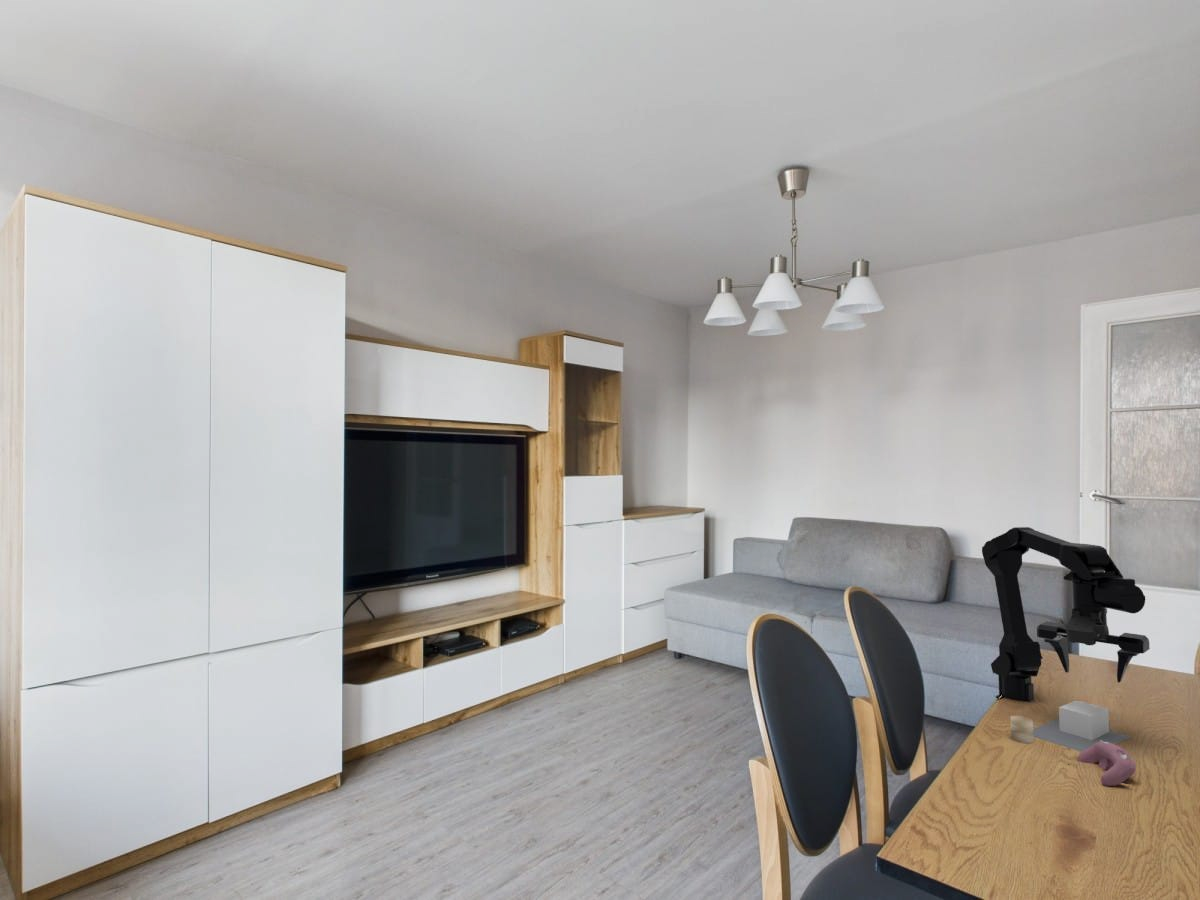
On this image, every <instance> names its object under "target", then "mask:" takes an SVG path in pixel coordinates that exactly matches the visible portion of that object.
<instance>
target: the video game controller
mask: <svg viewBox="0 0 1200 900" xmlns="http://www.w3.org/2000/svg"><path fill="white" fill-rule="evenodd" d="M1076 761H1077V762H1081V763H1087V764H1088V763H1089V764H1096V763H1098V767H1100V768H1101V769H1103V770H1104V771H1105V772H1103V774H1101V778H1100V782H1101V783H1102V784H1103V785H1104V786H1106V787H1112V786H1113V787H1114V786H1117V785H1120V784H1122V783H1123V782H1125V781H1127V779H1128V778H1130V777H1132V776H1133V775H1134V774H1135V772H1136V762H1135V761H1134V759H1132V758H1131V756H1130V754H1129V753H1128V752H1127V751H1126V750H1125V749H1124V748H1123V747H1121V746H1119V745H1118V744H1116V745H1115V744H1113V743H1109V742H1103V741H1102V740H1100V742H1096V743H1095V744H1093V745H1092V746H1091V747H1090V748H1088V749H1086V750H1085V751H1083V752H1080V753H1079V754H1078V756H1077V758H1076Z"/></svg>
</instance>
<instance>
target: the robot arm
mask: <svg viewBox="0 0 1200 900" xmlns="http://www.w3.org/2000/svg"><path fill="white" fill-rule="evenodd" d="M981 548H982V549H981V553H982V558H983V561H984V564H985V566H986V568H987V569H988V570H989V571H990V573H991V574H992V575H993V577H994V582H995V587H996V588H995V589H996V594H997V599H998V605H999V611H1000V617H1001V623H1002V630H1003V635H1002V638H1001V641H1000V643H999V644H998V654H999V655H998V656H997V657H996V658H995V659H994V660H993V661H992V662H991V663H990V667H991V670H992V673H993V674H995V675H997V676H998V694H997V695H995V698H996V699H998V698H999V697H1000V696H1001V695H1002V697H1001V698H1000V699H999V700H1003V699H1009V700H1013V701H1019V702H1027V703H1030V702H1032V701H1033V702H1034V701H1035V690H1034V689H1035V688H1034V686H1035V685H1034V683H1032V677H1038V675H1039V670H1040V667H1042V660H1043V659H1044V658H1043V656H1042V652H1041V644H1040V643H1039V641H1034V639H1032V638H1031V636H1030V635H1029V634H1028V629H1027V628H1028V627H1027V622H1026V616H1025V613H1024V606H1023V605H1024V604H1023V602H1022V601H1023V599H1022V595H1021V594H1022V593H1021V589H1020V582H1019V577H1018V574H1019V572H1020V569H1021V568H1022V566H1023V555H1025V554H1026V553H1027V552H1029V551H1030V549H1031V550H1033V551H1035V552H1038V553H1041V554H1044V555H1046V556H1049V557H1052V558H1055V559H1056V560H1058V562H1059V564H1060V565H1061V566H1062V567H1064V568H1065V569H1067V570H1069V572H1068V573H1067V574H1066V575H1064V576H1063V580H1064V581H1070V582H1071V587H1072V590H1071V591H1072V608H1071V616H1070V619H1069V620H1068V621H1067V624H1066V625H1065V624H1064V623H1059V622H1054V621H1053V622H1052V621H1045V622H1042V623H1040V624H1039V625H1038V626H1037V628H1036V637H1037V638H1040V639H1043V640H1044V642H1045V643H1047V644H1048V643H1049V644H1050V645H1051V646H1052V647H1053V649H1054V651H1055V652H1056V653H1057V656H1058V657H1059V658H1058V659H1059V661H1060V663H1061V665H1062V667H1063V669H1064V672H1065V673H1070V656H1069V646H1068V645H1069V643H1072V644H1076V643H1078V644H1082V645H1083V644H1084V645H1086V646H1094V645H1096V643H1104V644H1109V645H1116V646H1118V647H1119V648H1120V649H1119V650H1117V652H1116V653H1117V670H1116V680H1117V681H1116V682H1117V683H1121V682H1122V681H1123V678H1124V675H1125V673H1126V670H1127V669H1128V666H1129V663H1130V662H1131V660H1132V658H1133V657H1137V656H1138V655H1140V654H1145V653H1146V652H1147V651H1149V650H1150V649H1151V648H1150V640H1149V638H1148V637H1147V636H1146V635H1145V634H1137V633H1129V632H1123V633H1122V634H1120V635H1114V634H1110V632H1109V631H1110V630H1109V627H1108V623H1107V622H1108V621H1107V614H1108V609H1110V610H1115V611H1120V612H1125V613H1129V614H1137V613H1139V612H1141V611H1142V610H1143V608H1144V607H1145V604H1146V596H1145V595H1144V593H1143V591H1142V589H1141V588H1140V587H1139V586H1138V585H1136V580H1135V579H1134V578H1128V577H1127V578H1124V576H1123V575H1122V573H1121V571H1120V570H1119V568H1118V567H1117V565H1116V564H1115V562H1114V561H1113V559H1112V557H1110V555H1109V554H1108V551H1107V548H1105V547H1104V546H1102V545H1096V544H1089V543H1079V542H1078V543H1077V542H1076V543H1075V542H1070V541H1067V540H1064V539H1061V538H1058V537H1056V536H1053V535H1050V534H1047V533H1044V532H1041V531H1039V530H1035V529H1034V528H1032V527H1030V526H1029V527H1028V526H1027V527H1026V526H1023V527H1022V526H1021V527H1020V526H1019V527H1018V526H1017V527H1012V528H1010V529H1008V531H1006V532H1004V533H1002V534H1000V535H998V536H995V537H994V538H992V539H990V540H988V541H986V542H985V543H984V545H982V547H981ZM1068 642H1069V643H1068Z"/></svg>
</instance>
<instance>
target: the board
mask: <svg viewBox="0 0 1200 900" xmlns="http://www.w3.org/2000/svg"><path fill="white" fill-rule="evenodd" d="M1033 730H1034V738H1037V739H1040V740H1043V741H1045V742H1049V743H1051V744H1055V745H1058V746H1062V747H1066V748H1068V749H1072V750H1075V751H1078V752H1080V753H1082V752H1083V751H1085V750H1086V749H1088V748H1090V747H1091V746H1092V745H1093V744H1095V743H1096V742H1100V740H1102V741H1103V742H1109V743H1113V744H1115V745H1118V744H1119V743H1122V742H1124V741H1126V740H1127V739H1130V738H1131V737H1132V736H1130V735H1126V734H1123V733H1119V732H1117V731H1116V732H1115V731H1112V730H1109V732H1108V733H1106V734H1104V735H1102V736H1100V737H1098V738H1096V739H1094V740H1089V739H1086V738H1083V737H1079V736H1076V735H1073V734H1069V733H1066V732H1062V731H1060V727H1059V717H1058V718H1056V719H1054V720H1052V721H1049V722H1046V723H1044V724H1042V725H1040V726H1037V727H1033Z"/></svg>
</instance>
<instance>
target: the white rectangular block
mask: <svg viewBox="0 0 1200 900" xmlns="http://www.w3.org/2000/svg"><path fill="white" fill-rule="evenodd" d="M1058 718H1059V727H1060V731H1062V732H1066V733H1069V734H1073V735H1076V736H1079V737H1083V738H1086V739H1089V740H1094V739H1096V738H1098V737H1100V736H1102V735H1104V734H1106V733H1108V732H1109V731H1110V725H1109V724H1110V722H1109V708H1108V707H1104V706H1100V705H1096V704H1093V703H1092V704H1091V703H1089V702H1085V701H1080V700H1073V701H1071V702H1069V703H1066V704H1063V705H1061V706H1059V707H1058Z"/></svg>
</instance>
